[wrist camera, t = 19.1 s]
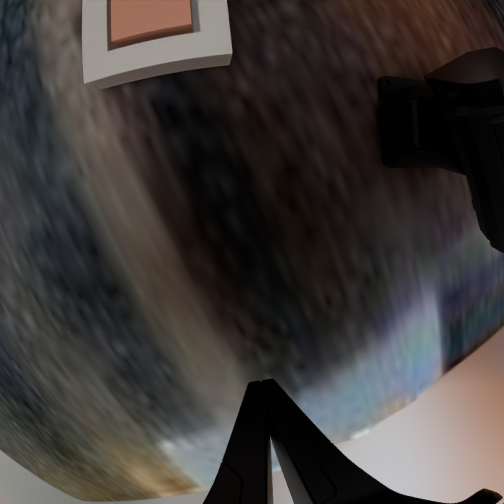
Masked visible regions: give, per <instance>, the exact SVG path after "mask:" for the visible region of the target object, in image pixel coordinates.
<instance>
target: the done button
mask: <svg viewBox="0 0 504 504" xmlns="http://www.w3.org/2000/svg"><path fill="white" fill-rule="evenodd" d="M189 33H194V28H193V16H192V4H191V0H111V40H112V42H113V43H114V44H116V45H117V46H118V47H119V48H122V47H126V46H130V45H133V44H138V43H142V42H146V41H151V40H155V39H160V38H165V37H171V36H177V35H183V34H189Z"/></svg>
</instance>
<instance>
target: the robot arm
mask: <svg viewBox="0 0 504 504" xmlns="http://www.w3.org/2000/svg"><path fill="white" fill-rule="evenodd" d="M424 78H425V80H426V82H424V81H418V80H412V79H406V78H399V77H391V76H383V77H380V78H379V80H378V87H379V98H380V103H379V117H380V137H381V139H382V155H383V164H384V165H385V166H386V167H389V168H408V167H439V168H442V169H446V170H449V171H453V172H456V173H459V174H462V175H465V176H466V178H467V181H468V184H469V188H470V191H471V195H472V199H473V200H472V204H473V208H474V210H475V211H476V215H477V219H478V223H479V227H480V230H481V231H482V232H483V234H484V235H485V236H486V238H487V239H488V240H489V241H490V245H491V246H492V247H493V248H495V249H497V250H498V251H500V252H503V253H504V51H502V50H500V49H499V48H497V47H492V48H486V49H481V50H476V51H471V52H467V53H465V54H463V55H462V56H460V57H458V58H456V59H454V60H452V61H451V62H449V63H447V64H445V65H443V66H442V67H440V68H438V69H436V70H435V71H433V72H431V73H429V74H428V75H426V76H424ZM384 80H386V82H387V86H386V85H385V84H384ZM389 158H391V163H389V161H388V160H389ZM270 437H271V440H272V443H273V446H274V449H275V452H276V455H277V458H278V461H279V463H280V466H281V469H282V472H283V474H284V477H285V480H286V483H287V486H288V488H289V491H290V494H291V496H292V499H293V502H294V504H450V503H441V502H435V501H430V500H425V499H420V498H415V497H411V496H407V495H403V494H400V493H397V492H395V491H393V490H391V489H389V488H388V487H386V486H385V485H383V484H382V483H380V482H379V481H377V480H376V479H375V478H373V477H372V476H370V475H369V474H368V473H366V472H364V471H363V470H362V469H361V468H359V467H358V466H357V465H355V464H354V463H353V462H352V461H350V460H349V459H348V458H347V457H346V456H345V455H344V454H343V453H342V452H341V451H340V450H339V449H338V448H337V447H336V446H335V445H334V444H333V443H331V441H330V440H329V439H328V438H327V437H326V436H325V435H324V434H323V433H322V432H321V431H320V430H319V429H318V428H317V426H316V425H315V424H314V423H313V422H312V421H311V420H310V419H309V418H308V417H307V416H306V415H305V413H304V412H303V411H302V410H301V409H300V408H299V407H298V406H297V405H296V404H295V402H294V401H293V400H292V399H291V398H290V397H289V396H288V395H287V394H286V392H285V391H284V390H283V389H282V388H281V387H280V386H279V384H278V383H277V382H276V381H275V380H274V379H266V380H262V381H261V382H260V381H254V382H249V383H248V385H247V388H246V391H245V394H244V398H243V401H242V404H241V407H240V410H239V413H238V416H237V419H236V422H235V425H234V428H233V431H232V434H231V437H230V440H229V442H228V445H227V448H226V451H225V454H224V457H223V460H222V461H223V462H222V463H221V465H220V468H219V471H218V473H217V476H216V478H215V481H214V483H213V485H212V487H211V489H210V491H209V493H208V495H207V497H206V499H205V501H204V502H203V504H273V488H272V487H273V486H272V461H271V441H270ZM502 498H503V497H502V496H501V495H500V494H499V493H497V492H494V491H491V490H488V489H481V490H480V491H478V492H476V493H475V494H473V495H472V496H471V497H469V498H467V499H466V500H464V501H462V502H458V503H451V504H496V503H497V502H499V501H500V500H501V499H502ZM503 504H504V503H503Z"/></svg>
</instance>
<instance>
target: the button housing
mask: <svg viewBox="0 0 504 504" xmlns="http://www.w3.org/2000/svg"><path fill="white" fill-rule="evenodd" d="M191 4H192V16H193V28H194V33H189V34H183V35H177V36H171V37H165V38H160V39H155V40H151V41H146V42H142V43H138V44H133V45H130V46H126V47H122V48H119V47H118V46H117V45H116V44H114V43H113V42H112V40H111V0H83V7H82V54H83V74H84V84H87V85H90V86H93V87H97V88H100V89H105V88H109V87H112V86H116V85H120V84H124V83H128V82H132V81H136V80H140V79H145V78H149V77H154V76H159V75H164V74H169V73H175V72H181V71H187V70H193V69H200V68H208V67H216V66H225V65H230V61H231V57H232V45H231V35H230V26H229V17H228V8H227V0H191Z"/></svg>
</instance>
